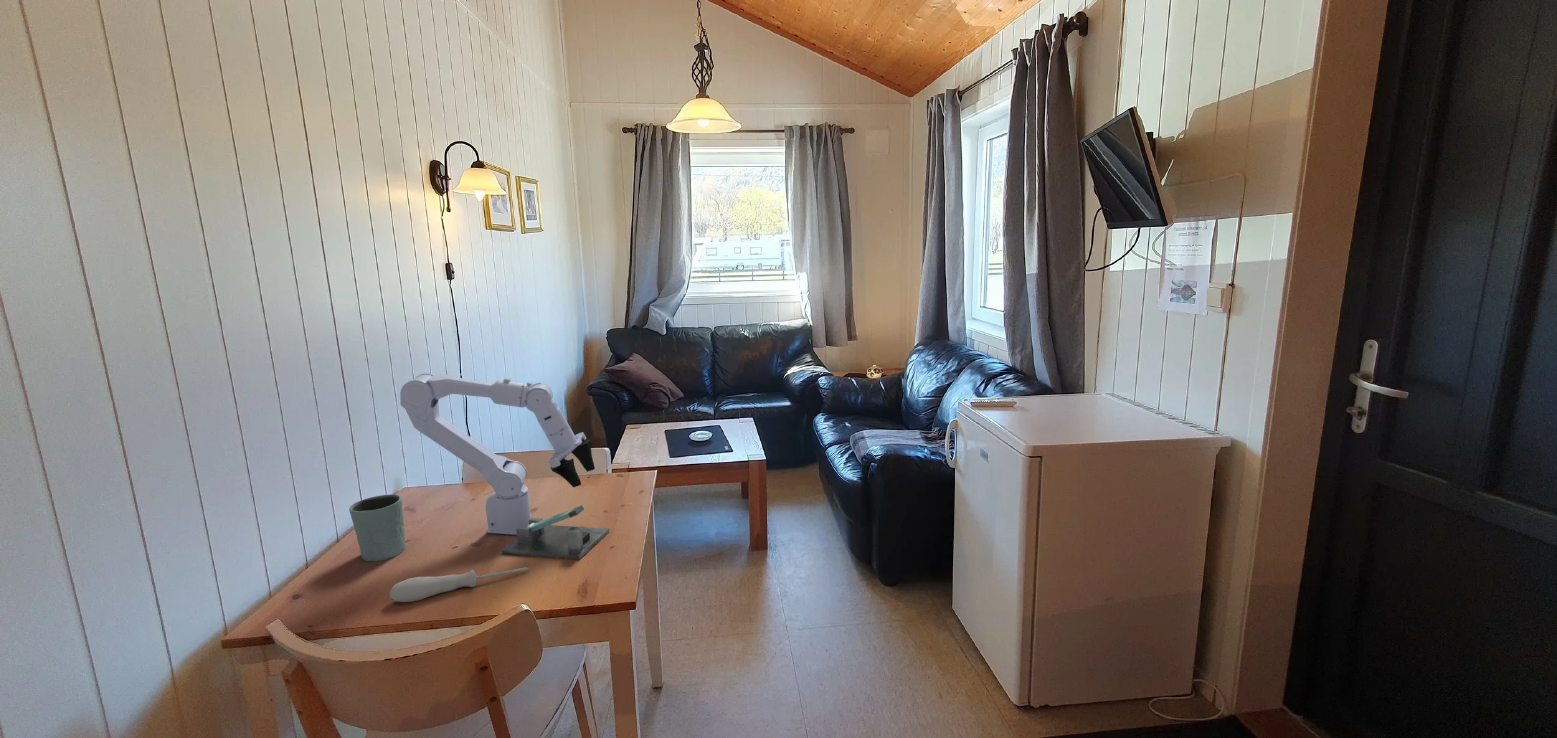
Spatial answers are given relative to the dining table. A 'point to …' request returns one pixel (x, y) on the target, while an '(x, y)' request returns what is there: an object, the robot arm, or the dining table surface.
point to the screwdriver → (436, 585)
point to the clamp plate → (555, 541)
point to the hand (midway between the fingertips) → (584, 477)
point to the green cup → (379, 527)
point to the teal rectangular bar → (556, 518)
